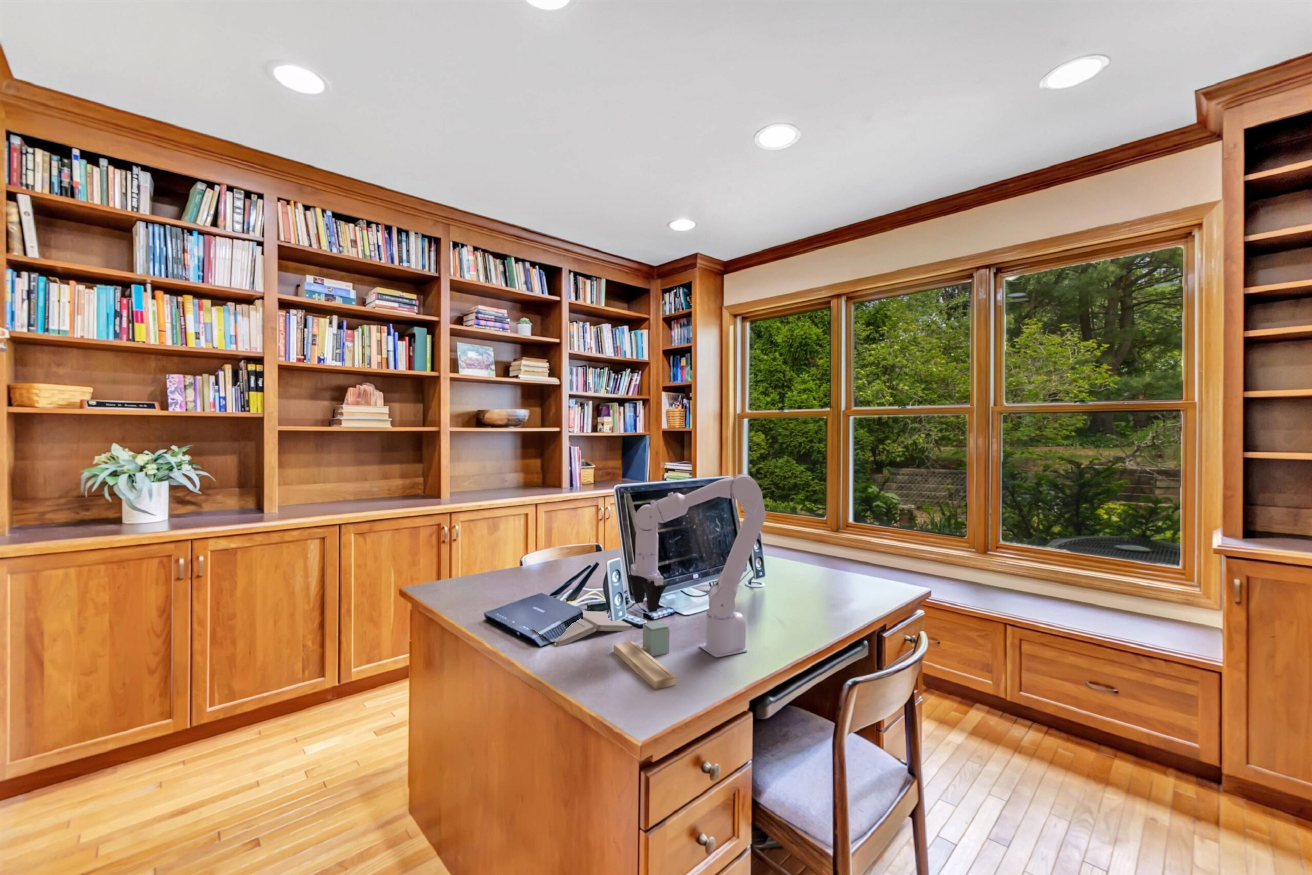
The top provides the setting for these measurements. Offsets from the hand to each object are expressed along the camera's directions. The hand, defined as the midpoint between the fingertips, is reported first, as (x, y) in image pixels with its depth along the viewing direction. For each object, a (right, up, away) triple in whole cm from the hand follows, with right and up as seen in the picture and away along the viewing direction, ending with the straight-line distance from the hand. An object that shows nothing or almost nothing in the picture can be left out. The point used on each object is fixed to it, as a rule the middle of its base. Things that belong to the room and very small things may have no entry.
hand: (645, 606), depth 139 cm
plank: (0, -10, -13) cm, 16 cm away
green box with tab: (+3, -10, -3) cm, 11 cm away
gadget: (-17, -10, +11) cm, 23 cm away
